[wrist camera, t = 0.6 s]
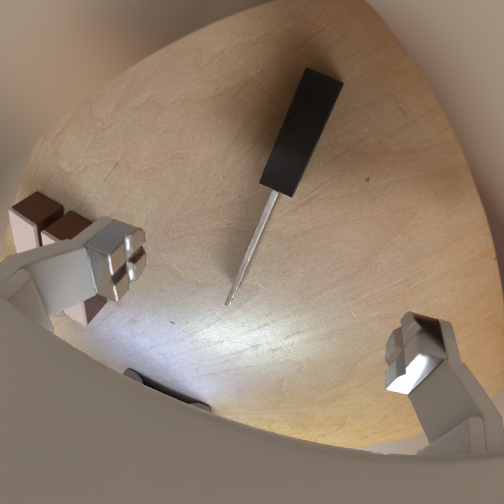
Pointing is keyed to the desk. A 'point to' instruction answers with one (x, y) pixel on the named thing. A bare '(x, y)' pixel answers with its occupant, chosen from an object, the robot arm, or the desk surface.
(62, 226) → the cake
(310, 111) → the knife
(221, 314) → the desk surface
